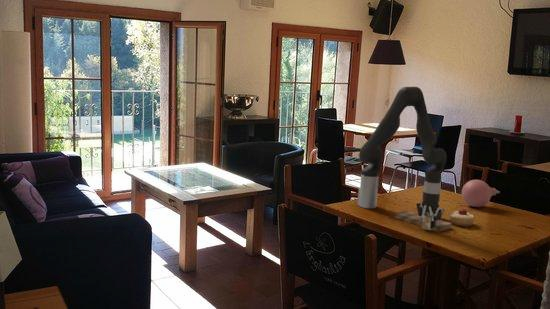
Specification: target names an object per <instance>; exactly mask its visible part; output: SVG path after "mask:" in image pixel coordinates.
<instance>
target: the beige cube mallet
mask: <svg viewBox="0 0 550 309" xmlns="http://www.w3.org/2000/svg"><path fill="white" fill-rule="evenodd" d="M431 221H432V220H431V216H430V215H424V216H423V220H422V226H421V229H423V230H426V231H433V230H432V229H431V228H430V227H431ZM433 229H434V228H433Z"/></svg>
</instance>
